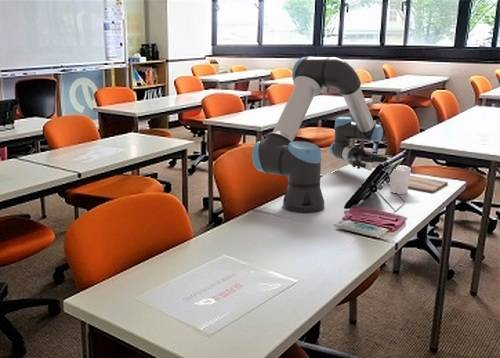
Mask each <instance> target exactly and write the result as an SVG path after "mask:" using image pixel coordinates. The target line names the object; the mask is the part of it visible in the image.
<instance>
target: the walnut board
mask: <svg viewBox="0 0 500 358" xmlns="http://www.w3.org/2000/svg"><path fill="white" fill-rule="evenodd" d="M448 183H449V182H448V181H445V180H444V181H443V180H437V179H431V178H427V177H420V176H414V175H410V180H409V186H408V189H410V190H414V191H415V190H416V191H419V192H420V191H421V192H427V193H430V194H434V193H436V192H437V191H439V190H440V189H442V188H443V187H445V186H447V185H448Z"/></svg>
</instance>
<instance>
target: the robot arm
mask: <svg viewBox="0 0 500 358" xmlns="http://www.w3.org/2000/svg"><path fill="white" fill-rule="evenodd" d="M291 73H292V75H291V78H292V82H293V85H294V87H293V90H292V92H291V93H290V95H289V98H288V100H287V102H286V104H285V106H284V108H283V110H282V112H281V114H280V116H279V119H278V120H277V122H276V125H275V126H274V129H273V131H272V132H269V133H267V134H266V136H265V137H264V140H258V141H257V142H255V144H254V145H253V148H252V151H251V153H252V154H251V158H252V163H253V166H254V168H255V169H256V170H257V171H258V172H262V173H264V174H271V175H277V176H283V177H287V188H286V190H285V194H284V197H283V199H282V207H283V209H285V210H287V211H291V212H294V213H301V214H302V213H303V214H304V213H306V214H308V213H315V212H320V211H322V210H324V209H325V198H324V195H323V193H322V189H321V188H322V187H321V170H322V169H321V168H322V152H321V148H320V147H319V146H318V145H317V144H315V143H312V142H307V141H300V140H295V141H294V139H296V135H297V134H298V131H299V129H300V127H301V125H302V123H303V121H304V119H305V116H306V114H307V112H308V110H309V109H310V106H311V104H312V101H313V99H314V97H315V96H319V94H320V93H321V92H322V89H323V88H333V89H336V90H337V92H338V94H340V95H342V97H343V99H344V101H345V104H346V106H347V108H348V110H349V112H350V114H351V116H352V118H351V117H349V116H339V117H336V118H335V121H334V141H333V142H332V143H331V144H330V147H329V152H330V154H331V155H332V156H333V157H335V158H336V159H340V160H343V161H345V162H348V163H349V164H350V165H351V166H352V167H353V168H357V169H358V170H360V169H365V170H367V171H370V172H371V171H373V163H376V162H377V163H384V162H383V161H386V160H388V159H391V158H393V156H392V155H390V154H389V155H388V154H387V155H385V154H379V153H375V152H373V153H367V152H366V150H365V149H363V148H361V147H358V146H355V145H352V143H351V142H352V140H359V141H364V142H365V141H367V142H375V143H376V142H380V141H382V138H383V134H384V128H383V126H382V125H380V124H375V121H374V120H373V116H372V114H371V111H370V109H369V106H368V104H367V102H366V99H365V96H364V94H363V91H362V88H361V85H362V82H361V79H360V77H359V75H358V73H357V72H356V71H355V69H354V68H353V67H352V66H351V65H350V64H349V63H348V62H346V61H345V60H343V59H341V58H340V57H335V56H331V57H329V56H303V57H300V58H299V59H298V60H297V61H296V62H295V63H294V65H293V68H292V72H291Z"/></svg>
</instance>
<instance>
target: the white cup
mask: <svg viewBox="0 0 500 358" xmlns="http://www.w3.org/2000/svg"><path fill="white" fill-rule="evenodd" d="M411 171H412V168H411V167H410V166H406V165H398V166H397V167H396V169H394V170H393V172H392V173H391V175H390V174H389V192H390V191H391V192H395V193H397V194H396V195H407V194H408V192H409V191H408V189H409V188H408V186H409V180H410V176H411ZM391 192H390V193H391Z"/></svg>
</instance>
